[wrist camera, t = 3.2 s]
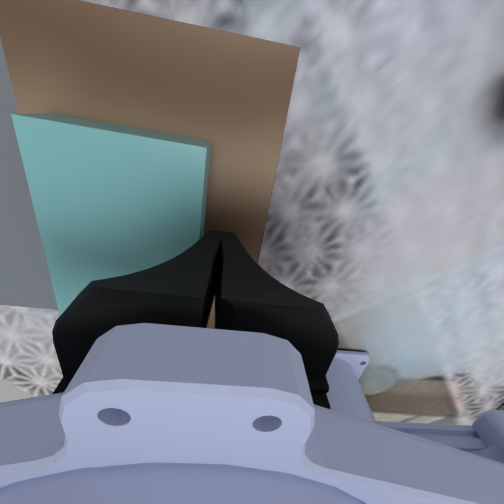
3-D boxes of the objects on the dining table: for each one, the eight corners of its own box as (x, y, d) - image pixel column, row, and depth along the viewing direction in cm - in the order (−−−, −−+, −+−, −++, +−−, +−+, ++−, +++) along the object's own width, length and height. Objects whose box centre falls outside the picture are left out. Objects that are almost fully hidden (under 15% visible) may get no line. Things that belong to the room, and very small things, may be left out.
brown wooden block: (239, 312, 20) (239, 355, 17) (104, 300, 19) (74, 343, 16) (283, 63, 13) (300, 47, 9) (63, 19, 12) (-14, -20, 8)
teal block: (196, 310, 15) (191, 337, 13) (84, 299, 14) (62, 326, 12) (211, 141, 10) (206, 147, 9) (51, 112, 10) (11, 113, 8)
